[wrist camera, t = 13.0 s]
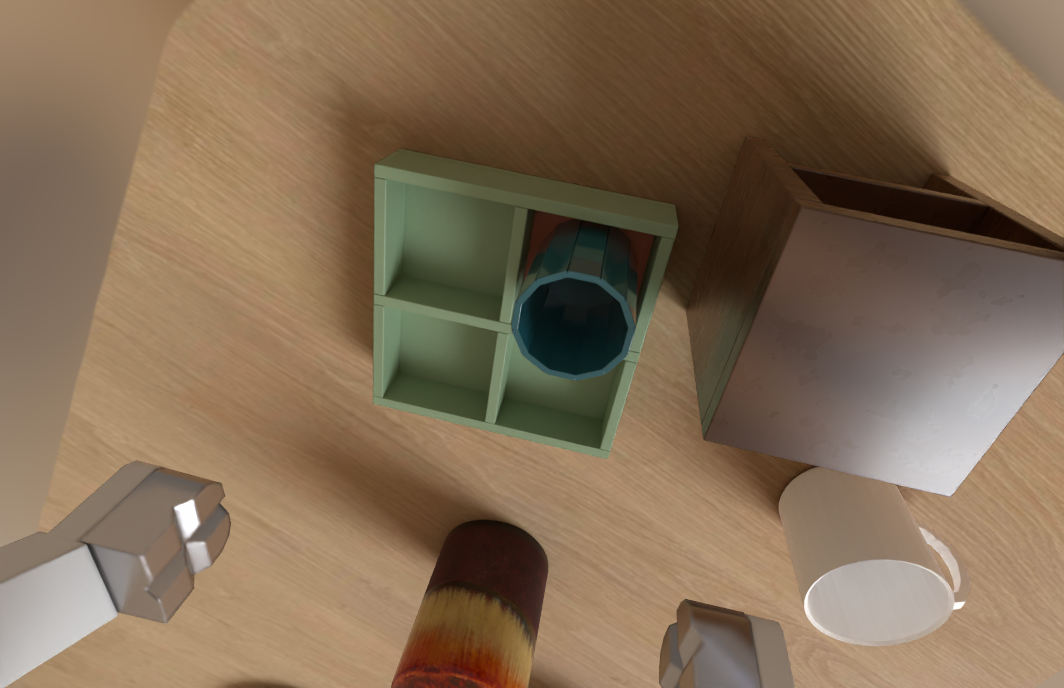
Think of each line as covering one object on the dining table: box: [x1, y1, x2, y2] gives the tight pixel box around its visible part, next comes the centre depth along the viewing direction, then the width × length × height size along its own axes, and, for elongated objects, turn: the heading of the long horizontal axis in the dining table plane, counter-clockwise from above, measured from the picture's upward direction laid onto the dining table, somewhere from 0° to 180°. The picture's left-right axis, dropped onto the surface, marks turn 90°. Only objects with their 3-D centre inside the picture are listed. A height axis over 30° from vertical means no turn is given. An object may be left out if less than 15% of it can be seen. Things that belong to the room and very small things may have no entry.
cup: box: [511, 219, 638, 381], centre depth 34 cm, size 7×7×9 cm
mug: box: [779, 467, 970, 646], centre depth 42 cm, size 12×9×9 cm
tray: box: [373, 149, 679, 459], centre depth 40 cm, size 18×18×4 cm
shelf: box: [686, 137, 1064, 497], centre depth 30 cm, size 12×12×14 cm
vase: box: [391, 520, 548, 688], centre depth 48 cm, size 11×11×20 cm
